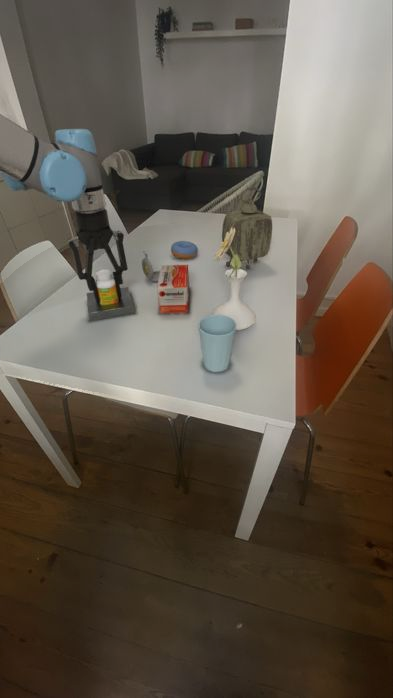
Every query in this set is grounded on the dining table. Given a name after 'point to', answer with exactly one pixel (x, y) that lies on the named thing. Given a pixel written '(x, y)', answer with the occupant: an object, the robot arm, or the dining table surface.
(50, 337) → the dining table surface
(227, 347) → the cup
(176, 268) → the medicine box
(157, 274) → the pocket watch
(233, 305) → the flower in vase
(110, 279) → the supplement bottle
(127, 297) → the bottle stand
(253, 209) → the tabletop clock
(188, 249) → the doughnut
